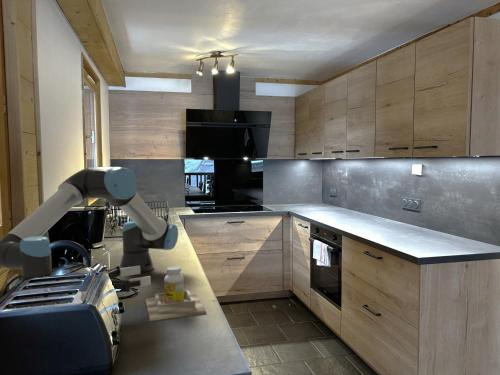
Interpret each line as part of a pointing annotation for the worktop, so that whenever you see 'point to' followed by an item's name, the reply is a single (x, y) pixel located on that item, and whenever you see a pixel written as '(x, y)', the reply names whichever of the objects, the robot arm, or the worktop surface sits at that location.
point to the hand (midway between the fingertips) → (145, 274)
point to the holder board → (174, 307)
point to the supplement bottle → (173, 285)
